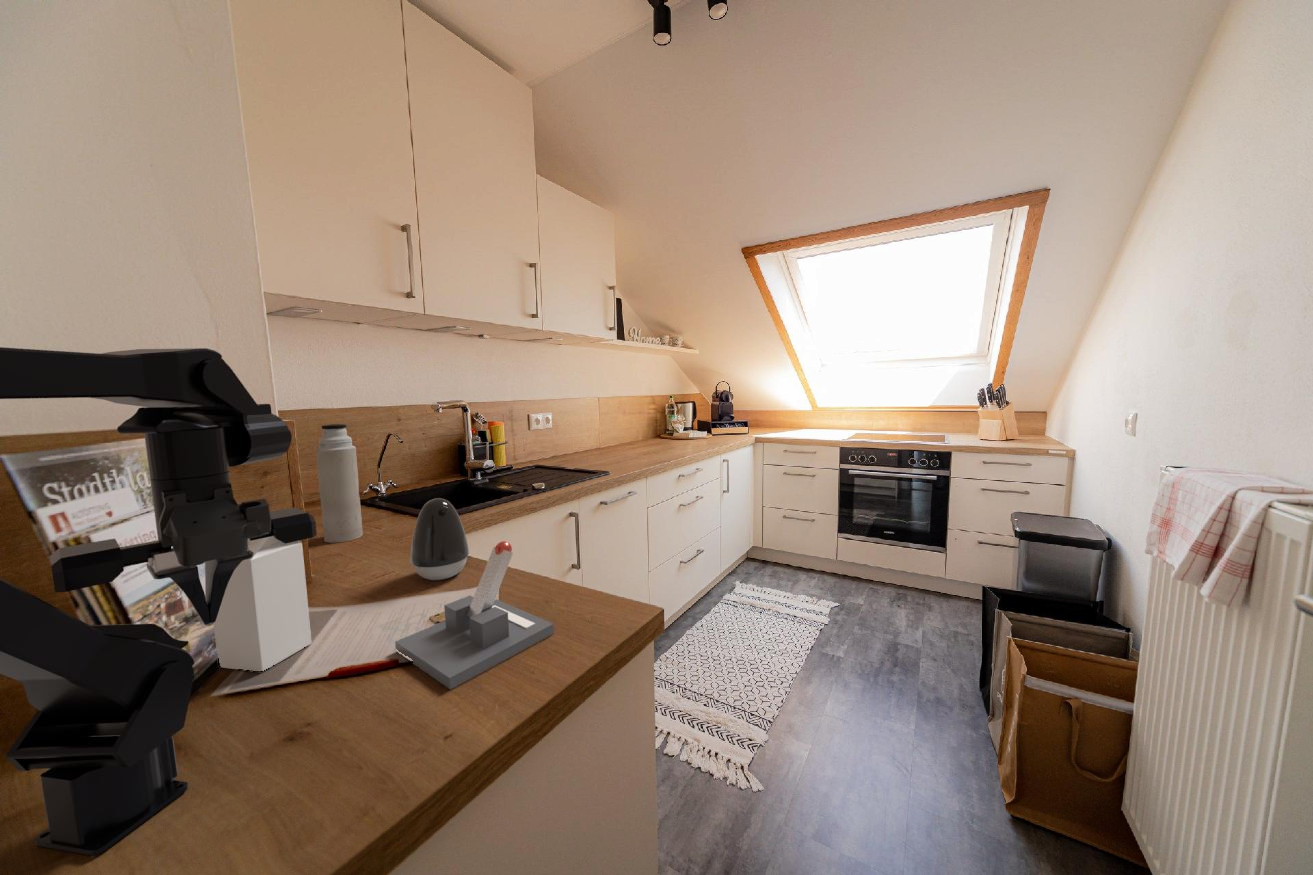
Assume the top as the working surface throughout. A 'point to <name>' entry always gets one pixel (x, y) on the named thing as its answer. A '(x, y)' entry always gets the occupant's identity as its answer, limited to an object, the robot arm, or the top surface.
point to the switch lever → (491, 579)
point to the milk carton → (264, 608)
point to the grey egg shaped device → (439, 541)
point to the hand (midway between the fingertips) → (209, 622)
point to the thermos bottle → (338, 485)
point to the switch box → (472, 640)
